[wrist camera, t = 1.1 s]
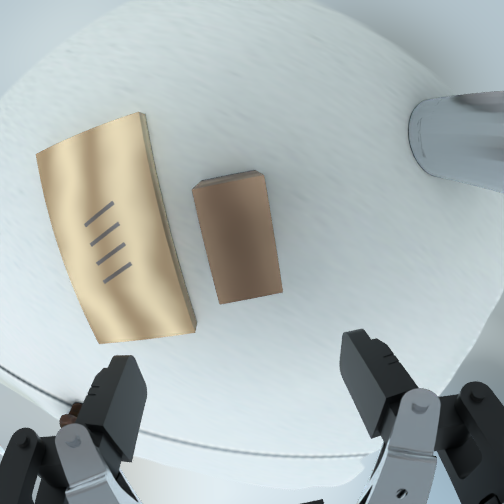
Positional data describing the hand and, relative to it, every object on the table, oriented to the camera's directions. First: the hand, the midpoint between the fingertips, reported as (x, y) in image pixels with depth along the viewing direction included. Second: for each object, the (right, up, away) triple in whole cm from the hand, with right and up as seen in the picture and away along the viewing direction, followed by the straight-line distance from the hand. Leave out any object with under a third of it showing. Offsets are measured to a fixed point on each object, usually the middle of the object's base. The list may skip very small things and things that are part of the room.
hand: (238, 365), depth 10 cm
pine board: (-13, +6, +16) cm, 22 cm away
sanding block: (-1, +7, +17) cm, 18 cm away
